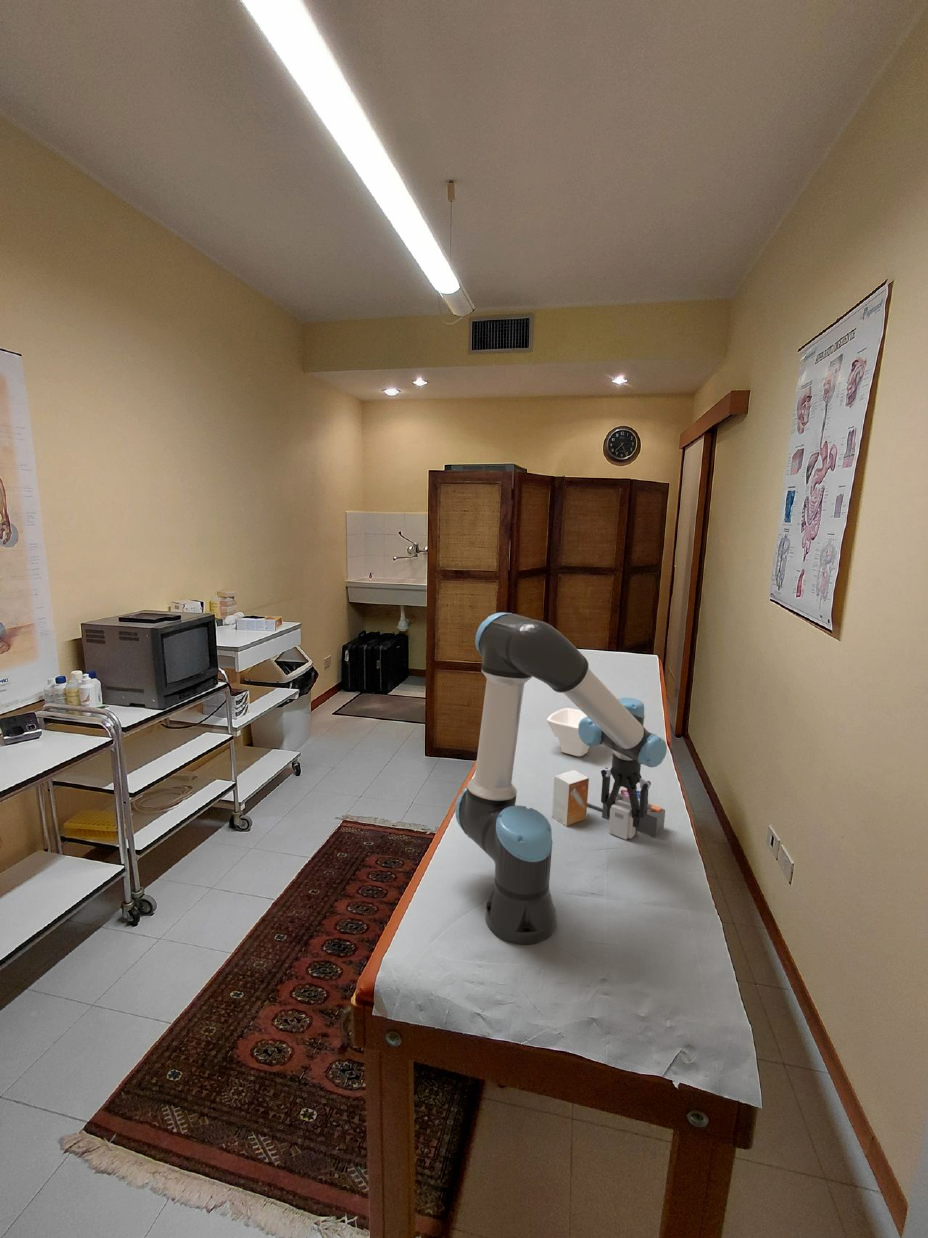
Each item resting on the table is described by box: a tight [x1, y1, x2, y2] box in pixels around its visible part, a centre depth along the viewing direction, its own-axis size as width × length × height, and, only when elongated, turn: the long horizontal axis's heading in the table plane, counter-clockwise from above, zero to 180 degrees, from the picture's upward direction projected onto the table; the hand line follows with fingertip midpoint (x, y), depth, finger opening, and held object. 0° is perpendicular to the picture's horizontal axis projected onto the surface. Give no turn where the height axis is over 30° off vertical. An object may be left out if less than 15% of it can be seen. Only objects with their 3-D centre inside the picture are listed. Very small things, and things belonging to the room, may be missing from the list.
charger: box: [608, 800, 632, 841], centre depth 152 cm, size 9×5×8 cm, turn 140°
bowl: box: [546, 707, 590, 757], centre depth 204 cm, size 19×19×14 cm
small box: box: [551, 769, 590, 827], centre depth 158 cm, size 8×6×13 cm
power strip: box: [587, 792, 666, 839], centre depth 159 cm, size 6×24×7 cm, turn 50°
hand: (621, 832), depth 151 cm, fingers closed on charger, 5 cm apart
